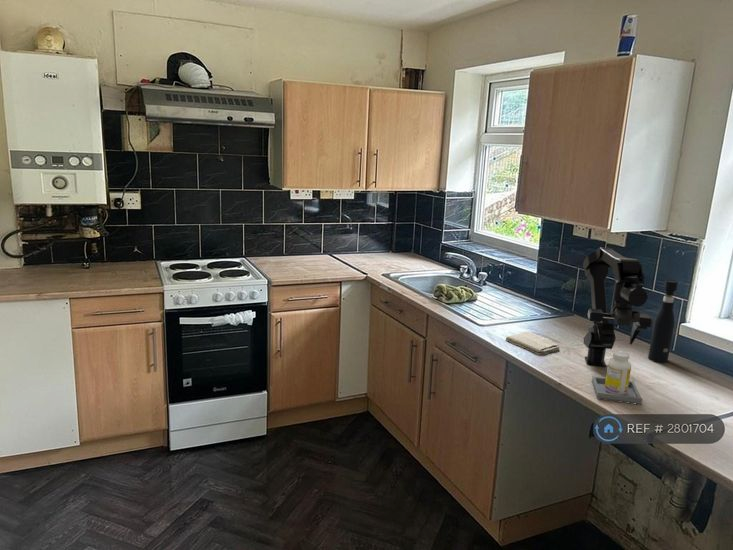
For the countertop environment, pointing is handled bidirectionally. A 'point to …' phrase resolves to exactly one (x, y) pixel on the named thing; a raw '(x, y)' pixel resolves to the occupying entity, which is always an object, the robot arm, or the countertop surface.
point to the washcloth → (533, 343)
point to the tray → (630, 396)
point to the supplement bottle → (618, 373)
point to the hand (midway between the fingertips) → (615, 342)
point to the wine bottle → (663, 326)
